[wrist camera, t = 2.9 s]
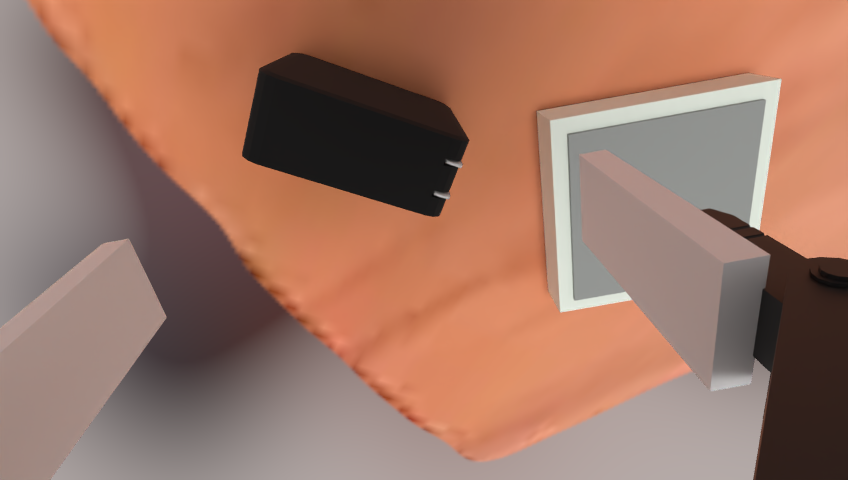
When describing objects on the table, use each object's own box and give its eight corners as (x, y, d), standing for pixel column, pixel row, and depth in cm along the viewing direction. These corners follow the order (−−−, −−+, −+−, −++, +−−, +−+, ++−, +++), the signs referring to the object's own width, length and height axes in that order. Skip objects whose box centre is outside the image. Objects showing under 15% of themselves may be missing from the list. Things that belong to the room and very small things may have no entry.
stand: (536, 110, 32) (551, 121, 29) (748, 72, 32) (785, 79, 29) (548, 290, 38) (561, 314, 35) (726, 259, 38) (755, 280, 35)
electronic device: (295, 49, 30) (254, 68, 21) (449, 104, 32) (473, 142, 23) (280, 116, 31) (236, 160, 22) (427, 164, 33) (441, 222, 24)
